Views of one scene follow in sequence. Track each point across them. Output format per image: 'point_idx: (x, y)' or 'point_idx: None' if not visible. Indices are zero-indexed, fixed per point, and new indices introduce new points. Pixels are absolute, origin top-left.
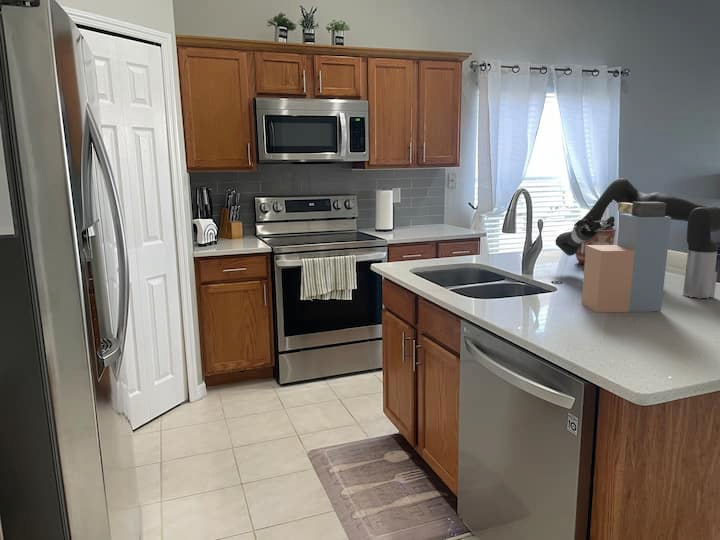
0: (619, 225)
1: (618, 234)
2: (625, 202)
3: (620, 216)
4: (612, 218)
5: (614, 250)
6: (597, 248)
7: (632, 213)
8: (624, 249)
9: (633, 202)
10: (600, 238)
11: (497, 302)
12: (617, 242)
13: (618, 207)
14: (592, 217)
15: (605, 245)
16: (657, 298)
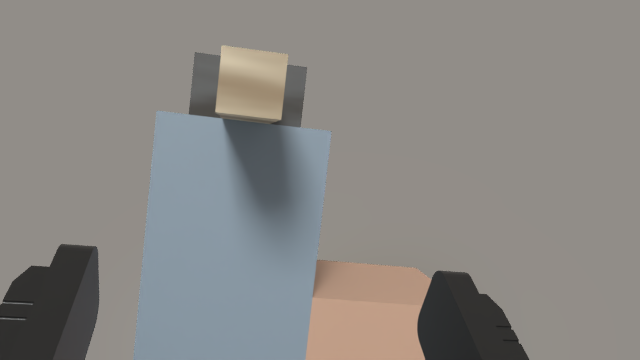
0: (323, 193)
1: (318, 240)
2: (232, 47)
3: (328, 145)
4: (95, 272)
5: (367, 265)
6: (424, 281)
7: (300, 121)
8: (322, 266)
9: (306, 70)
10: None
11: None
12: (313, 284)
13: (283, 94)
14: (432, 278)
15: (376, 298)
16: None
